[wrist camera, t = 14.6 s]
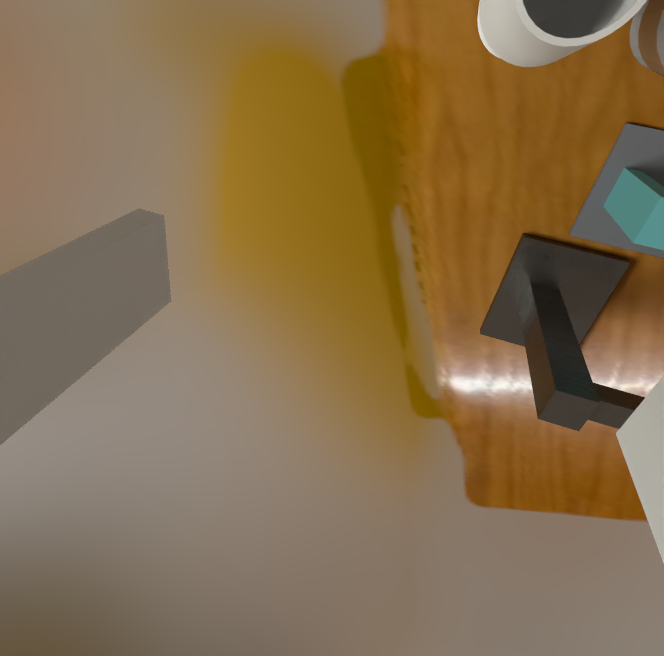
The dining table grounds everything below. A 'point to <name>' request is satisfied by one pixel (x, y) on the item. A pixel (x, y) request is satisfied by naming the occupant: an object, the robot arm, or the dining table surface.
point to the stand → (559, 327)
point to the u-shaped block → (638, 208)
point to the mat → (630, 152)
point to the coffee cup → (649, 35)
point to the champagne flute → (548, 27)
